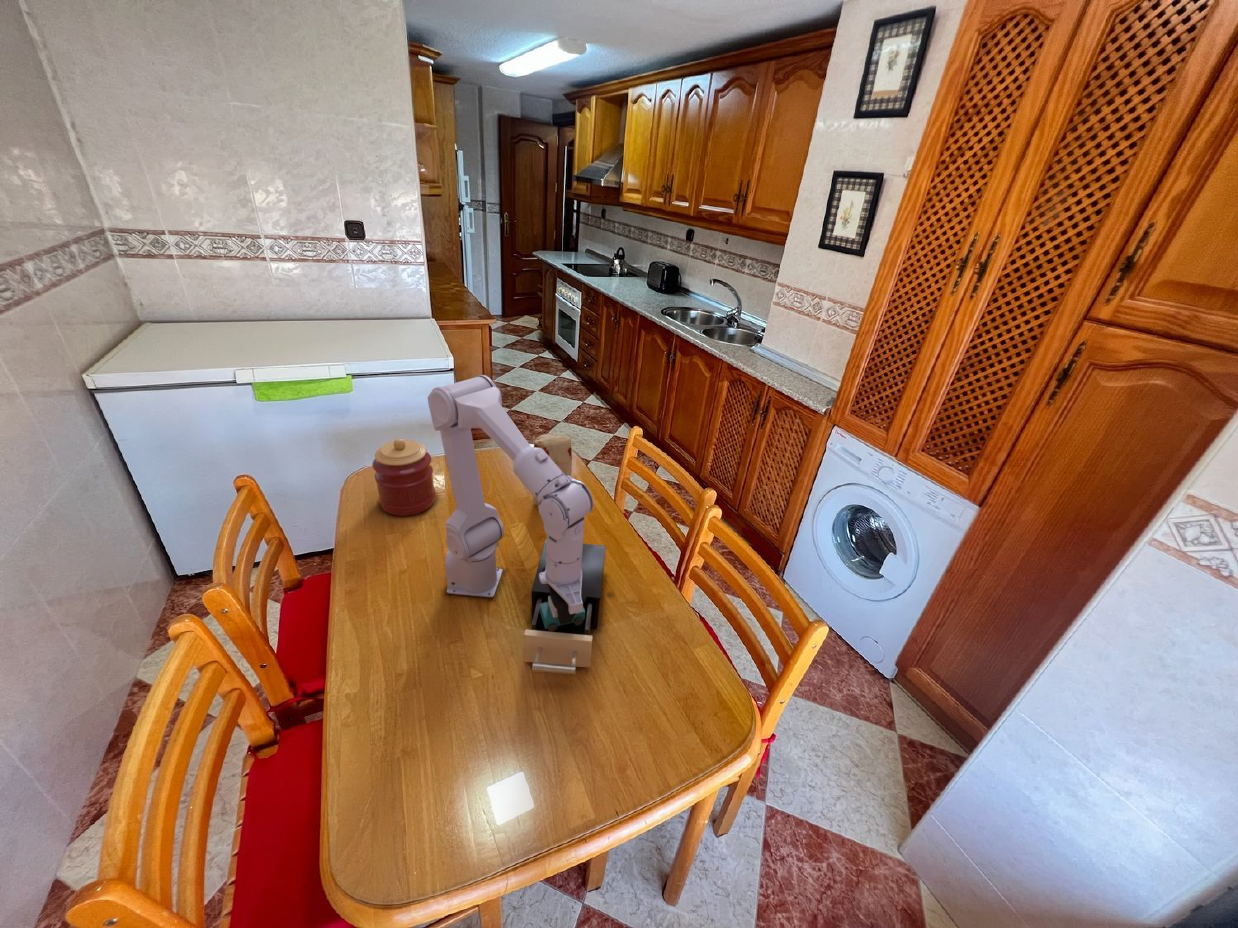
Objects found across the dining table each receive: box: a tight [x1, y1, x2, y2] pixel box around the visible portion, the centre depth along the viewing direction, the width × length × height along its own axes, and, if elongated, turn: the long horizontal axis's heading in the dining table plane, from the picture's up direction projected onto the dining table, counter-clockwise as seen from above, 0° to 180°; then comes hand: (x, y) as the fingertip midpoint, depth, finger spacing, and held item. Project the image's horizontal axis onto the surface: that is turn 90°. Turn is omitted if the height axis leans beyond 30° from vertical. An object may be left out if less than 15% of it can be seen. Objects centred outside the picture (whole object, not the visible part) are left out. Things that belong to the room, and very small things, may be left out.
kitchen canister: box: [371, 438, 437, 517], centre depth 119 cm, size 13×13×18 cm
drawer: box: [523, 595, 594, 676], centre depth 88 cm, size 18×11×7 cm, turn 177°
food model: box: [532, 433, 573, 506], centre depth 123 cm, size 10×7×20 cm
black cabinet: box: [530, 539, 607, 631], centre depth 98 cm, size 15×13×9 cm
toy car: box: [540, 596, 585, 632], centre depth 86 cm, size 7×5×4 cm
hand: (562, 611), depth 86 cm, fingers closed on toy car, 4 cm apart
